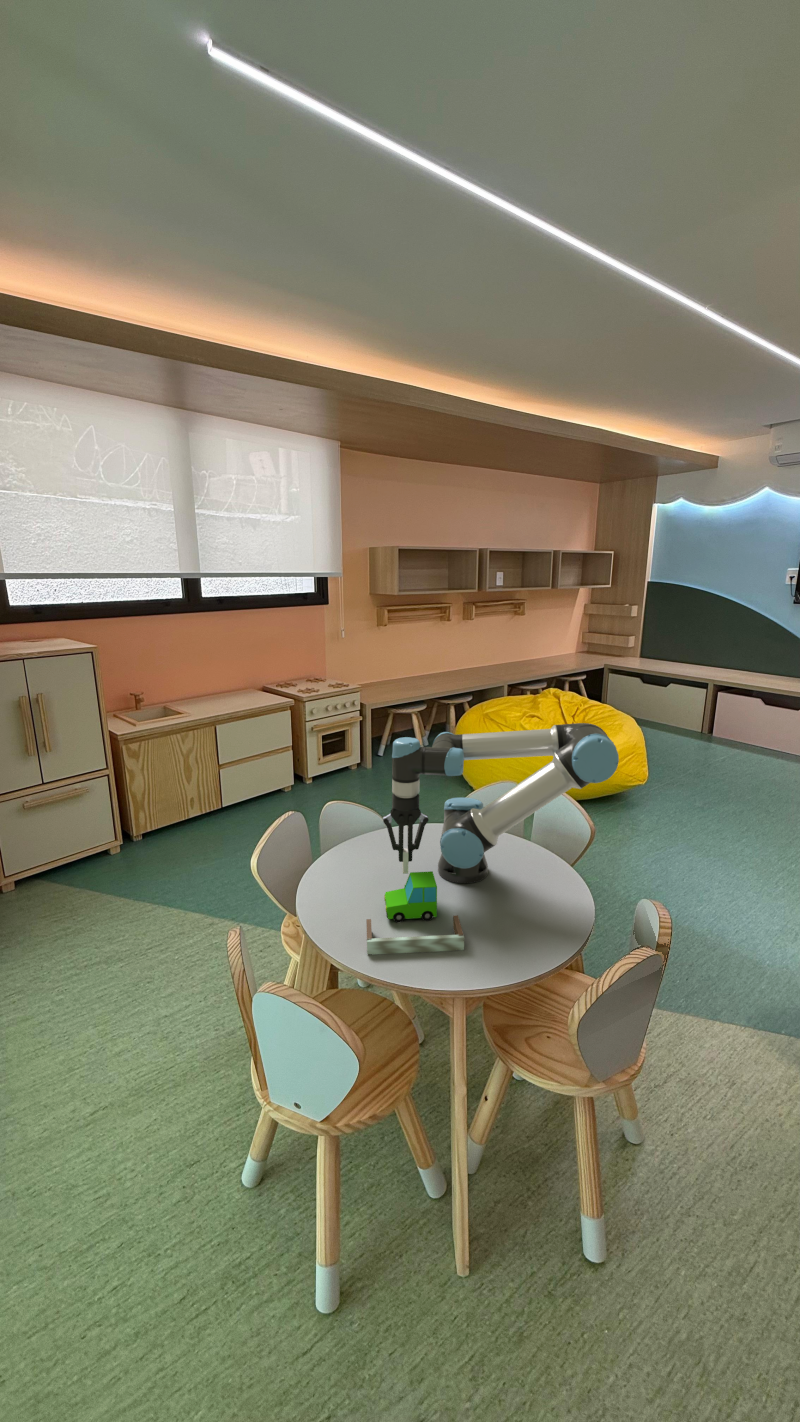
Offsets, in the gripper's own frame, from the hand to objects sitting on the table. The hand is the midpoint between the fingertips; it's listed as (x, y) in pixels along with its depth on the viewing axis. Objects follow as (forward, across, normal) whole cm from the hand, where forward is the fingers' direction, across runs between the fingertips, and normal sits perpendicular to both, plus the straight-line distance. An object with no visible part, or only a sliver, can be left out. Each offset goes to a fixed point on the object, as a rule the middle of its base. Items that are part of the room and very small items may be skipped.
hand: (405, 871), depth 173 cm
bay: (+6, 0, +24) cm, 25 cm away
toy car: (+6, 0, +12) cm, 14 cm away
